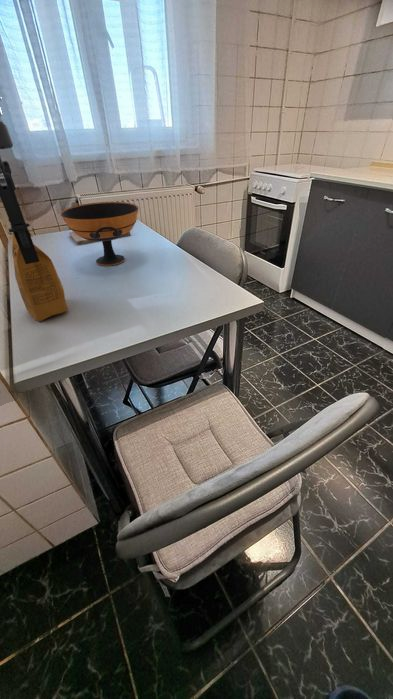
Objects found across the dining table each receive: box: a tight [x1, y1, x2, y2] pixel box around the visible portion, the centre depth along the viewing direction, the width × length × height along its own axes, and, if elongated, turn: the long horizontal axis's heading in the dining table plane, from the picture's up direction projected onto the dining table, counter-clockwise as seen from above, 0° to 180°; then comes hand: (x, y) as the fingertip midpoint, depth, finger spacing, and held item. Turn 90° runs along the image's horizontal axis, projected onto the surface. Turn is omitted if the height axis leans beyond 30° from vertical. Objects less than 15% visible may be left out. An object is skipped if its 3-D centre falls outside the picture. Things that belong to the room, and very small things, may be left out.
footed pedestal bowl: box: [59, 201, 140, 267], centre depth 104 cm, size 36×26×18 cm
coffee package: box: [11, 231, 69, 322], centre depth 74 cm, size 10×12×22 cm
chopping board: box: [68, 231, 131, 246], centre depth 136 cm, size 24×16×2 cm, turn 121°
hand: (32, 261), depth 62 cm, fingers closed
